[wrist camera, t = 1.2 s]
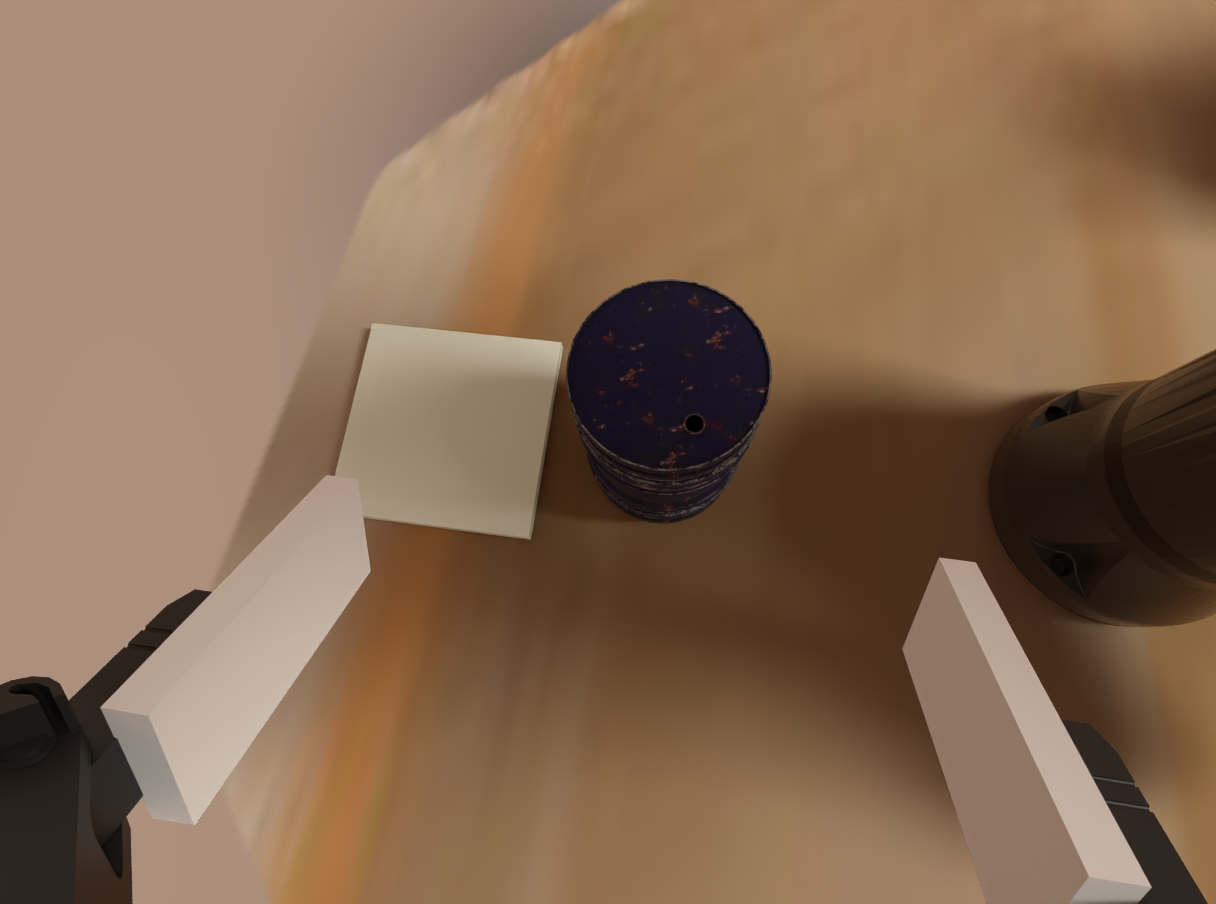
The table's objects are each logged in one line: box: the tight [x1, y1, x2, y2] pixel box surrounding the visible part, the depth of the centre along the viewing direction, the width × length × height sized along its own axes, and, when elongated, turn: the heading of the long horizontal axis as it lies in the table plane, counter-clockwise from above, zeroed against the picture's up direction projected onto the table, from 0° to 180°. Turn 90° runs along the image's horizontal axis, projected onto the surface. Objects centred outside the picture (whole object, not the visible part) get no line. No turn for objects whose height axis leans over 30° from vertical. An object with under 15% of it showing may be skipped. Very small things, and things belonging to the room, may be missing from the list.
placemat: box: [335, 323, 563, 540], centre depth 46 cm, size 14×14×1 cm
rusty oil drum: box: [566, 279, 772, 523], centre depth 38 cm, size 10×10×15 cm
